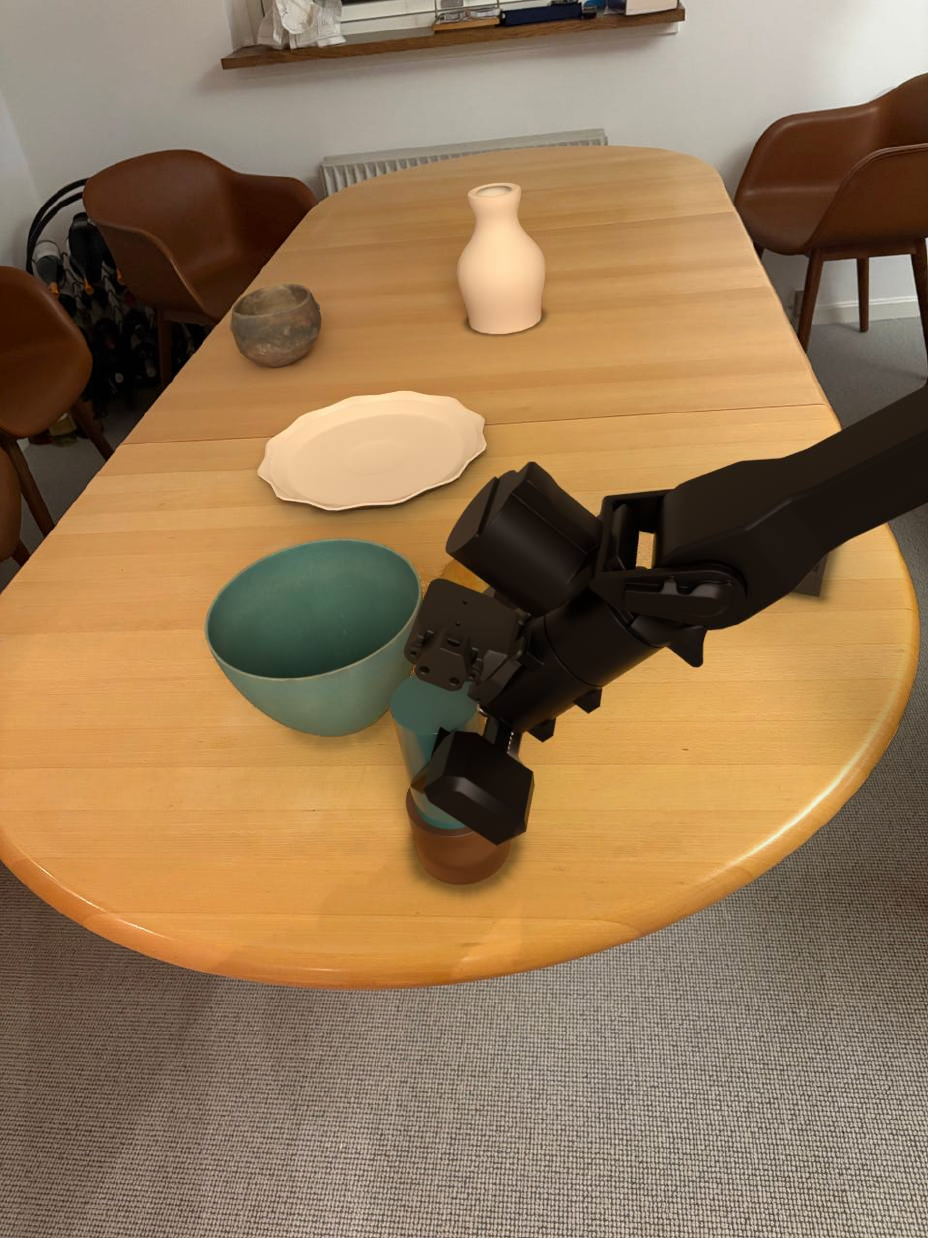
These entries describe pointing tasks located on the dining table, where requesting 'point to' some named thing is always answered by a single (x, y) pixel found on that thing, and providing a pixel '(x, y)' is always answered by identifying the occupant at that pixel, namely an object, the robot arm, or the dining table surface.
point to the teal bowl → (318, 633)
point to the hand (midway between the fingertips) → (427, 751)
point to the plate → (373, 451)
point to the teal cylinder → (430, 732)
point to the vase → (500, 264)
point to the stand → (454, 851)
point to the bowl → (276, 324)
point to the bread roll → (463, 576)
